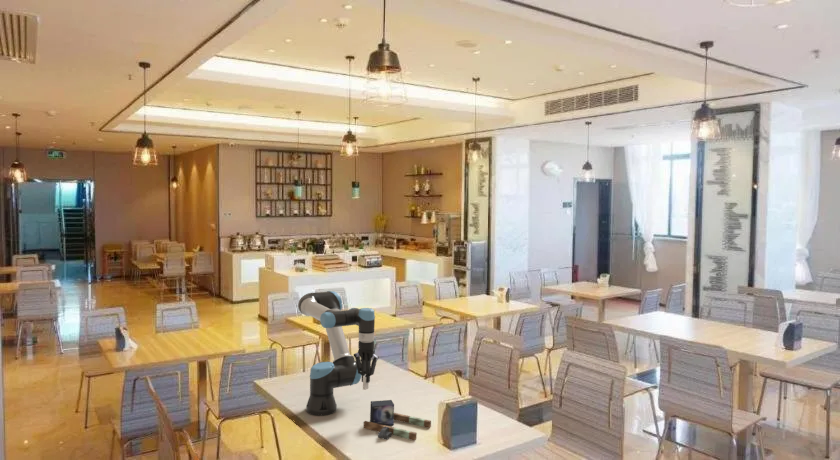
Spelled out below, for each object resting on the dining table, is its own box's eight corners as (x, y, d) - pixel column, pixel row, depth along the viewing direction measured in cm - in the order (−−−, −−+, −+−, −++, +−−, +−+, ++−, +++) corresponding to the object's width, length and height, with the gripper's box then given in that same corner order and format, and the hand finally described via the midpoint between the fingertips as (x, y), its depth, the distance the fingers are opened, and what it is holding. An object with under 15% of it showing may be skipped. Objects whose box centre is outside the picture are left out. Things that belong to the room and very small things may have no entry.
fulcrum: (377, 437, 262) (377, 428, 261) (382, 434, 265) (382, 425, 265) (387, 439, 260) (387, 431, 259) (391, 436, 263) (391, 427, 263)
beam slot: (363, 428, 271) (363, 421, 271) (381, 415, 287) (381, 409, 286) (414, 440, 260) (415, 433, 259) (430, 426, 275) (431, 420, 275)
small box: (372, 427, 272) (372, 405, 272) (369, 422, 279) (370, 401, 278) (394, 425, 275) (394, 404, 274) (391, 420, 281) (391, 399, 281)
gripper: (350, 340, 278) (349, 388, 279) (374, 344, 272) (373, 393, 274) (358, 337, 284) (358, 384, 286) (382, 340, 279) (381, 388, 280)
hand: (365, 388), depth 280 cm, fingers closed
